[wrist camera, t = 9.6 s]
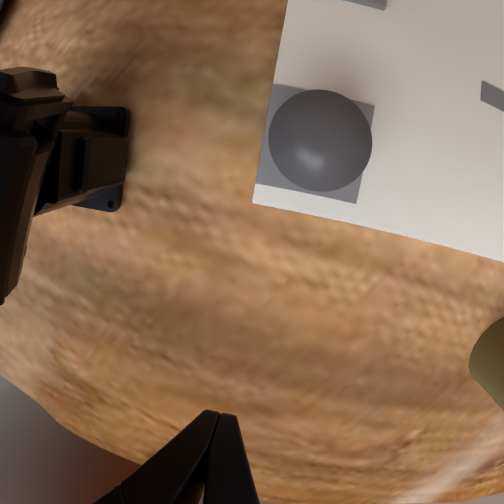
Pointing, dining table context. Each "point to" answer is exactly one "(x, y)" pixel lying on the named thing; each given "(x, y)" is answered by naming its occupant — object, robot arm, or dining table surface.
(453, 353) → the dining table surface
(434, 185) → the panel
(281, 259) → the dining table surface
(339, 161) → the button
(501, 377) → the olive pawn
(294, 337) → the dining table surface
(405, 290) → the dining table surface
